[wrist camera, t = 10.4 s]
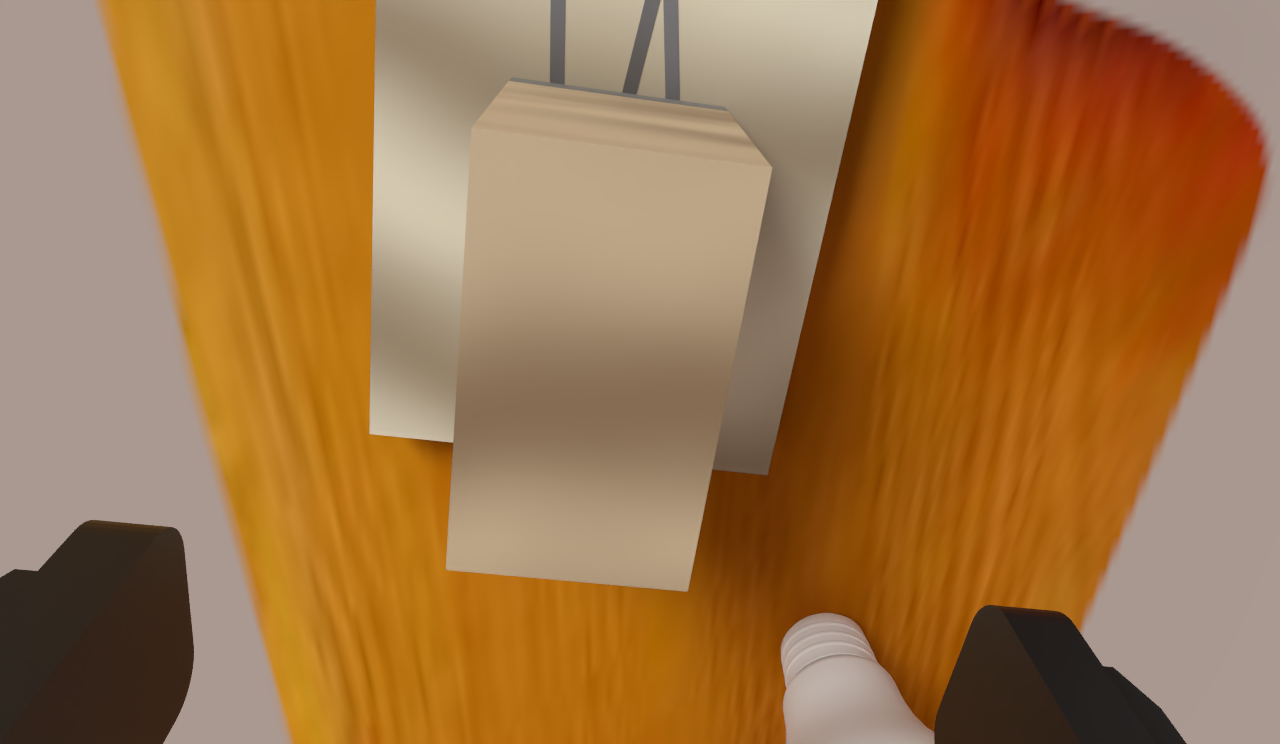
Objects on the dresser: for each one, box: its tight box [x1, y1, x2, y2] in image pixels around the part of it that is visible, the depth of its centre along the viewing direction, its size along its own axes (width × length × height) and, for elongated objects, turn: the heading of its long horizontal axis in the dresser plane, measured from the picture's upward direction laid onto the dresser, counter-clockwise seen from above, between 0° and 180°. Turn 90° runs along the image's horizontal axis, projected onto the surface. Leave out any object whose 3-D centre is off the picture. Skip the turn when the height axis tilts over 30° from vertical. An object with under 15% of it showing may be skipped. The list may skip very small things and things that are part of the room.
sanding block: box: [446, 77, 772, 592], centre depth 18 cm, size 8×4×6 cm, turn 172°
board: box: [370, 0, 878, 475], centre depth 19 cm, size 18×10×2 cm, turn 172°
